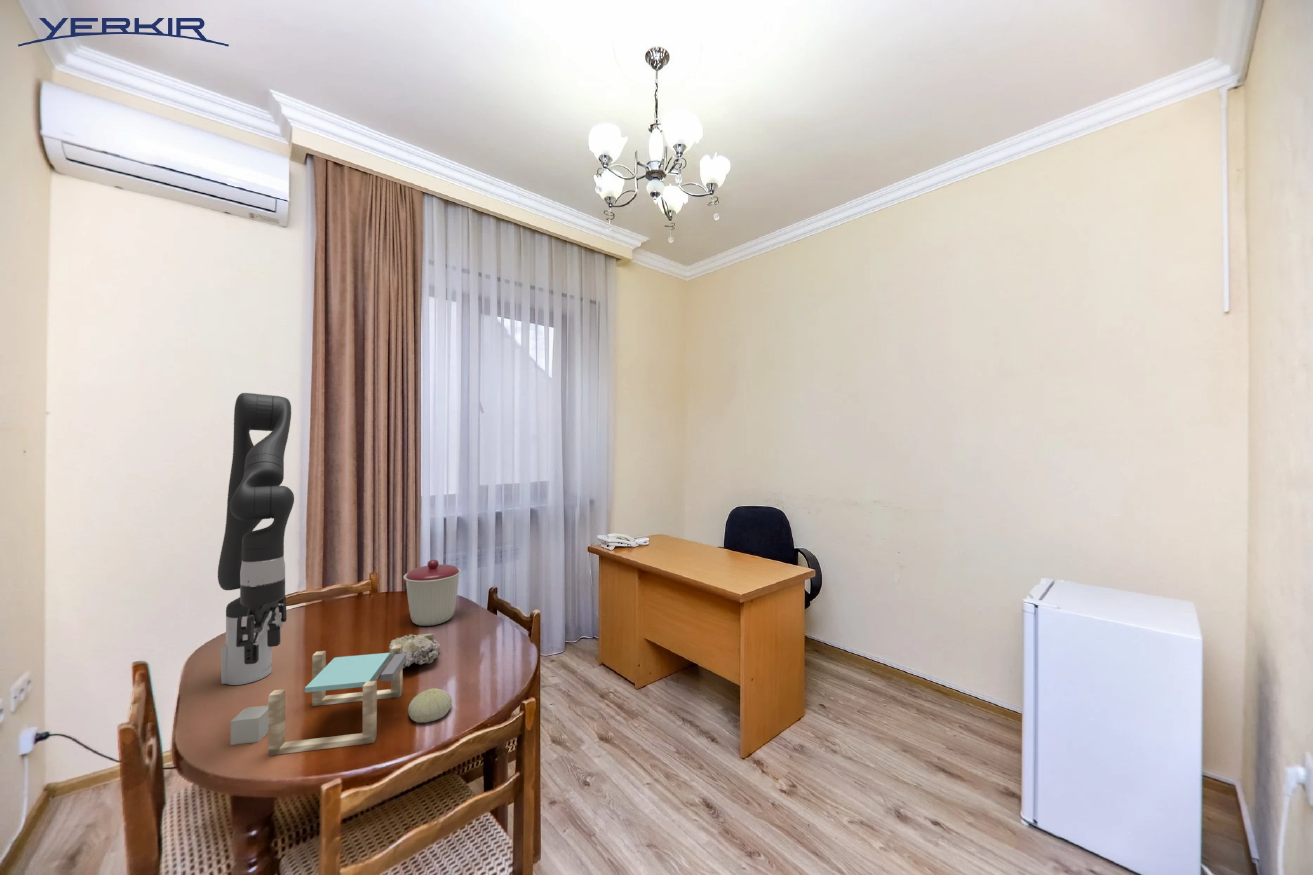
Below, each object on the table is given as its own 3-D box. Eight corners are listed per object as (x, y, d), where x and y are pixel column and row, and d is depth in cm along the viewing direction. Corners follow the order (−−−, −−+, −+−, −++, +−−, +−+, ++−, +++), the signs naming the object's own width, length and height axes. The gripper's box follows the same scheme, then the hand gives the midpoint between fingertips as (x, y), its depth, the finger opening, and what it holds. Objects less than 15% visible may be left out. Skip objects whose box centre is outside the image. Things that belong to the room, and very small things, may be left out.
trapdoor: (408, 656, 117) (408, 649, 117) (389, 685, 103) (389, 677, 103) (334, 662, 113) (334, 656, 113) (304, 693, 99) (304, 686, 99)
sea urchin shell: (406, 723, 103) (408, 684, 108) (408, 734, 108) (409, 697, 114) (452, 713, 107) (452, 676, 112) (451, 725, 112) (451, 689, 117)
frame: (268, 755, 95) (268, 695, 95) (316, 701, 115) (316, 651, 115) (373, 742, 100) (373, 685, 100) (402, 692, 119) (402, 644, 119)
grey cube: (230, 745, 99) (230, 720, 99) (245, 730, 104) (245, 707, 104) (258, 742, 100) (258, 718, 100) (272, 727, 105) (272, 704, 105)
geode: (421, 665, 144) (372, 678, 131) (419, 632, 147) (370, 642, 134) (459, 655, 137) (412, 668, 125) (456, 621, 140) (409, 630, 128)
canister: (468, 621, 165) (468, 560, 165) (411, 635, 153) (412, 570, 153) (450, 607, 179) (451, 551, 179) (397, 619, 167) (397, 559, 167)
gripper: (261, 571, 109) (261, 642, 109) (221, 590, 95) (221, 671, 95) (299, 569, 111) (299, 639, 111) (265, 587, 97) (264, 667, 97)
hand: (263, 654), depth 103 cm, fingers open, 8 cm apart
